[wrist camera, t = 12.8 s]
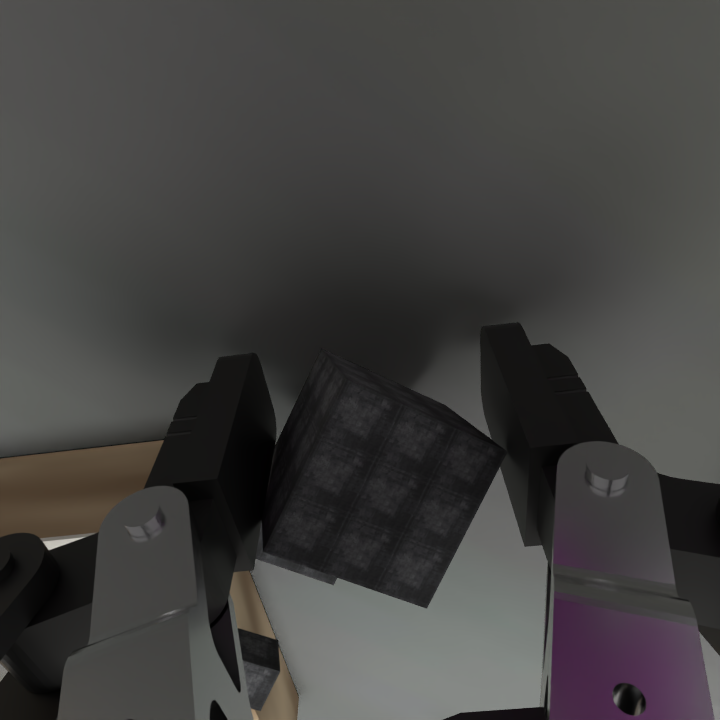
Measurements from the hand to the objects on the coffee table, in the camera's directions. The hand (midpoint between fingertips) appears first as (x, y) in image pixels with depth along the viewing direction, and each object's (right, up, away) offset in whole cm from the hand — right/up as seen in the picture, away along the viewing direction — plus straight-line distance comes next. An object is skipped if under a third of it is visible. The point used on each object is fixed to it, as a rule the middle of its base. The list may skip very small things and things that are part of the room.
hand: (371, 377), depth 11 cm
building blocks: (-1, -2, +2) cm, 3 cm away
